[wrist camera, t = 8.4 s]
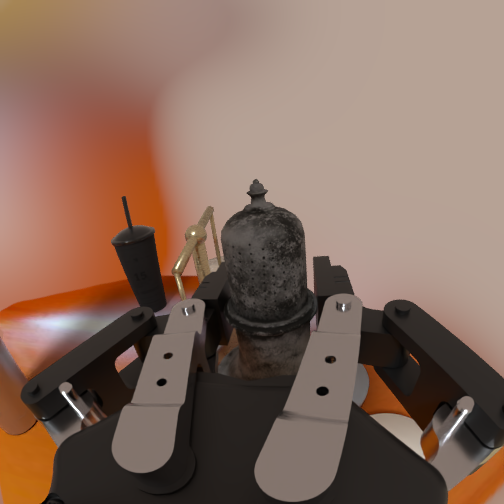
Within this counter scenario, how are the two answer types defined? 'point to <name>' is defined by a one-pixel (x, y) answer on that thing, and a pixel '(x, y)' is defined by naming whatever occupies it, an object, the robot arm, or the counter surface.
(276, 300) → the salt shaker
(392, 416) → the cream dish
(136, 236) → the drinking cup
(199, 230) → the brass balance
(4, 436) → the counter surface
